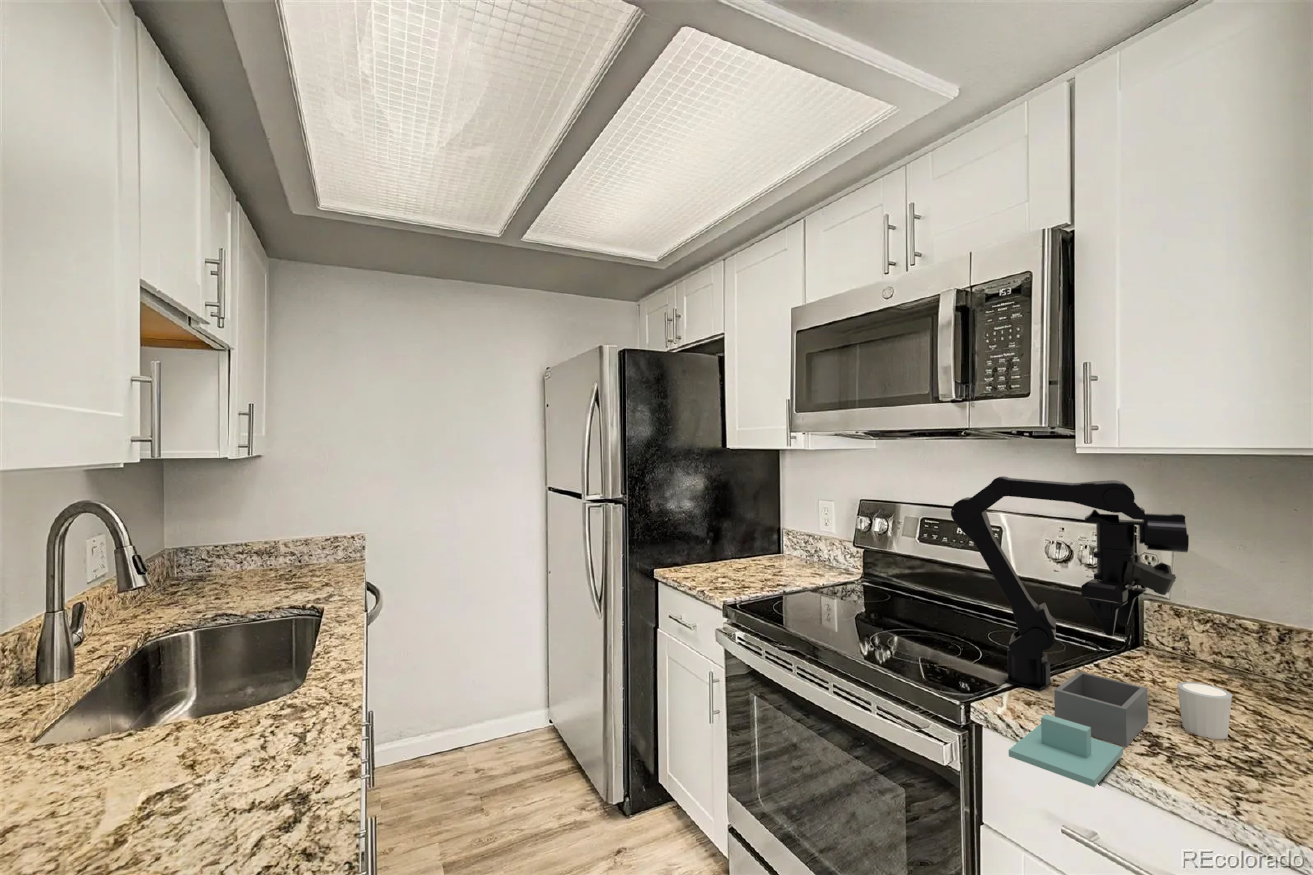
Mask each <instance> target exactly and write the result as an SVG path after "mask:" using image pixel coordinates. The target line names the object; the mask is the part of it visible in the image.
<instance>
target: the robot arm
mask: <svg viewBox="0 0 1313 875" xmlns="http://www.w3.org/2000/svg"><path fill="white" fill-rule="evenodd" d="M1004 497H1014V498H1021V499H1023V498H1024V499H1034V500H1044V501H1056V502H1066V503H1073V504H1078V505H1082V506H1085V507H1088V508H1092V509H1093V510H1092V511H1091V512H1090V513H1089V514H1088V515H1086V516H1085V517H1084V522H1085V523H1088V524H1089V523H1090V524H1091V523H1093V524H1096V525H1095V526H1096V527H1095V528H1096V530H1095V531H1096V551H1093V552H1092V553H1093V556H1092V557H1093V558H1094V559H1096V572H1095V573H1093V579H1090V580H1088V581H1086V582H1085V583H1084V584H1082V585H1081V586H1080V587H1081V597H1083V598H1084V601H1087V604H1088V605H1089V607H1090V608H1091V611H1092V612H1093V613H1094V616H1095V618H1096V620H1097V621H1098V622H1099V625H1100V627H1101V629H1102V631H1103V633H1104V634H1105V635H1106V636H1109V637H1113V636H1114V633H1115V630H1116V623H1117V621H1118V623H1119V625H1120V626H1124V627H1127V626H1128V624H1129V621H1130V618H1131V614H1132V611H1133V607H1134V604H1135V601H1136V600H1137V597H1140V596H1141V595H1142V594H1143V593H1145V592H1147V589H1149V590H1152V591H1153V592H1154V593H1156V594H1158V595H1162V596H1166V595H1167V594H1168V593H1170V591H1171V589H1172V587H1173V585H1174V583H1175V582H1176V578H1177V576H1176V574H1174V573H1172V568H1171V567H1172V566H1171V565H1169V564H1166V563H1164V562H1162V561H1161V562H1159V563H1158V564H1156V565H1154V566H1152V564H1150V563H1149V564H1146V563H1144V562H1141V558H1140V555H1139V553H1138V552H1135V549H1136V548H1135V547H1136V546H1135V526H1137V528H1138V530H1137V531H1138V532H1137V533H1138V535H1137V536H1138V543H1139V544H1142V545H1143V546H1145V547H1146V550H1148V551H1161V552H1173V553H1175V552H1176V553H1188V552H1189V543H1190V542H1189V539H1190V538H1189V533H1188V530H1187V524H1186V516H1185V515H1184V514H1183V513H1169V514H1168V513H1167V514H1164V513H1146V512H1145V511H1146V510H1145V509H1144V508H1143V507H1140V506H1139V505H1138V504H1137V503H1136V501H1135V499H1136V498H1135V493H1134V491H1133V489H1131V487H1130V486H1128V485H1127V484H1126V483H1125V482H1123V481H1121V480H1116V479H1113V480H1111V479H1110V480H1095V481H1084V482H1063V481H1054V480H1051V481H1050V480H1039V479H1027V478H1013V477H1007V476H1004V475H1003V476H998V477H996V478H994V479H993V480H992V481H991V482H990V483H989V484H988V485H987V486H985V487H984V488H983V489H981V490H979V492H977V493H976V494H974V495H973V496H972V497H969V496H968V497H965V498H964V497H963V498H961V499H959V500H958V501H956V502H955V503H953V505H952V506H951V509H950V516H951V519H952V520H953V522H954V523H955V524H956V525H957V527H958V528H959V529H960V530H961V531H962V533H963V534H964V535H966V536H967V538H968V539H969V540H971V541H972V543H973V544H974V545H975V547H976V548H977V550H978V551H979V553H980V556H982V558H983V560H984V562H985V564H986V565H987V567H988V569H989V571H990V573H991V574H992V576H993V579H995V581H996V583H997V585H998V586H999V589H1000V590H1001V591H1002V593H1003V595H1004V597H1005V599H1006V600H1007V603H1008V604H1009V606H1010V607H1011V611H1012V614H1013V617H1014V622H1015V625H1016V627H1017V630H1016V631H1014V632H1013V633H1012V634H1011V636H1010V640H1009V642H1008V648H1007V676H1006V677H1005V678H1004V682H1006V683H1009V684H1013V685H1017V686H1020V687H1024V688H1026V689H1027V688H1028V689H1031V690H1034V691H1042V690H1043V689H1044V688H1046V687H1047V686H1049V685H1050V684H1051V683H1052V682H1051V663H1050V662H1049V661H1048V654H1047V653H1045V652H1044V651H1047V650H1049V649H1051V648H1052V646H1054V644H1055V641H1056V633H1057V630H1056V626H1057V619H1056V618H1055V617H1053V616H1052V615H1051V613H1050V612H1049V609H1048V606H1047V604H1046V602H1043V603H1041V604H1038V603H1037V602H1036V601H1034V599H1033V598H1032V597H1031V595H1030V594H1029V592H1028V591H1027V589H1026V588H1025V586H1024V584H1023V583H1022V581H1021V579H1020V577H1019V576H1018V574H1017V572H1016V571H1015V569H1014V566H1012V564H1011V562H1010V560H1009V559H1008V557H1007V555H1006V553H1005V552H1004V550H1003V548H1002V546H1001V545H1000V543H999V542H998V540H997V538H996V537H995V535H994V531H993V529H992V525H991V522H990V519H989V515H988V513H987V510H988V509H989V508H991V507H992V506H994V505H995V504H996V503H998V501H1000V500H1002V499H1003V498H1004ZM1097 510H1101V511H1104V512H1105V511H1106V512H1108V513H1100V512H1098V511H1097ZM1109 512H1110V513H1111V514H1110V513H1109ZM1112 513H1114V514H1112ZM1115 513H1117V514H1115ZM1119 513H1120V514H1121V513H1122V514H1123V515H1125V516H1126V517H1129V518H1131V519H1132V520H1130V519H1120V515H1119ZM1139 586H1140V587H1139Z"/></svg>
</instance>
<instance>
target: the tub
mask: <svg viewBox="0 0 1313 875" xmlns="http://www.w3.org/2000/svg"><path fill="white" fill-rule="evenodd" d="M1053 692H1054V693H1053V696H1054V701H1053V702H1054V717H1058V718H1061V719H1064V720H1068V721H1071V722H1074V723H1078V724H1081V725H1084V726H1088V727H1091V738H1094V739H1097V740H1101V741H1104V742H1107V743H1110V744H1114V745H1117V746H1120V747H1123V748H1124V747H1125V748H1128V747H1129V746H1130V744H1132V742H1133V741H1134V740H1135V739H1136V737H1138V735H1139V734H1140V733H1141V732H1142V730H1143V729H1144V728H1145V727H1146V726H1147V725H1146V724H1148V723H1149V712H1148V711H1149V709H1148V708H1149V706H1148V705H1149V704H1148V703H1149V702H1148V701H1149V699H1148V687H1145V686H1141V685H1137V684H1133V683H1128V682H1124V681H1120V680H1117V679H1112V678H1109V677H1104V676H1100V675H1095V674H1092V673H1087V672H1084V671H1078V672H1077V673H1075V674H1074V675H1073V676H1071V677H1069V678H1068V679H1067V680H1066V681H1064V682H1063V683H1061V684H1060V685H1058V687H1056V688H1054V690H1053ZM1139 732H1140V733H1139ZM1133 739H1134V740H1133Z"/></svg>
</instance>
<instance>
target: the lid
mask: <svg viewBox="0 0 1313 875" xmlns="http://www.w3.org/2000/svg"><path fill="white" fill-rule="evenodd" d="M1123 755H1124V746H1121V745H1118V744H1114V743H1111V742H1108V741H1105V740H1101V739H1098V738H1095V737H1092V736H1091V727H1088V726H1084V725H1081V724H1078V723H1074V722H1071V721H1068V720H1064V719H1061V718H1058V717H1055V715H1052V714H1051V715H1050V714H1047V713H1044V715H1042V716H1041V718H1040V724H1039V725H1037V726H1036V727H1035V728H1033V729H1032V730H1031V731H1030V732H1028V733H1027V734H1026V735H1025V736H1024V737H1022V738H1021V739H1020V740H1019V741H1017V742H1016V743H1015V744H1014V745H1013V746H1011V747H1010V748H1009V749H1008V757H1010V758H1013V759H1015V760H1018V761H1020V762H1023V763H1026V764H1029V765H1032V766H1034V767H1037V768H1040V769H1041V770H1045V771H1048V772H1050V773H1053V774H1056V775H1059V776H1061V777H1064V778H1067V779H1070V780H1073V781H1076V782H1078V783H1081V784H1084V785H1086V786H1089V787H1092V788H1095V787H1097V786H1098V784H1099V783H1100V782H1101V781H1102V780H1103V779H1104V777H1106V775H1107V774H1108V772H1109V771H1110V770H1111V769H1112V768H1113V766H1114V765H1115V764H1117V762H1118V761H1119V760H1120V759H1121V757H1123Z"/></svg>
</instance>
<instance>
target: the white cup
mask: <svg viewBox="0 0 1313 875" xmlns="http://www.w3.org/2000/svg"><path fill="white" fill-rule="evenodd" d="M1176 687H1177V688H1176V689H1177V694H1178V703H1179V710H1180V717H1181V725H1182V727H1184V728H1185V729H1186V731H1187V730H1188V731H1187V732H1189V733H1191V732H1193V733H1195V734H1194V735H1196V736H1199V737H1203V738H1206V737H1208V739H1213V740H1225V739H1228V736H1229V728H1230V718H1231V708H1232V699H1233V694H1232V693H1231V692H1230V691H1227V690H1225V689H1224V688H1221V687H1217V686H1214V685H1212V684H1206V683H1200V682H1194V681H1182V682H1178V683H1177V684H1176ZM1184 728H1183V729H1184ZM1185 729H1184V730H1185ZM1193 733H1192V734H1193Z"/></svg>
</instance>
